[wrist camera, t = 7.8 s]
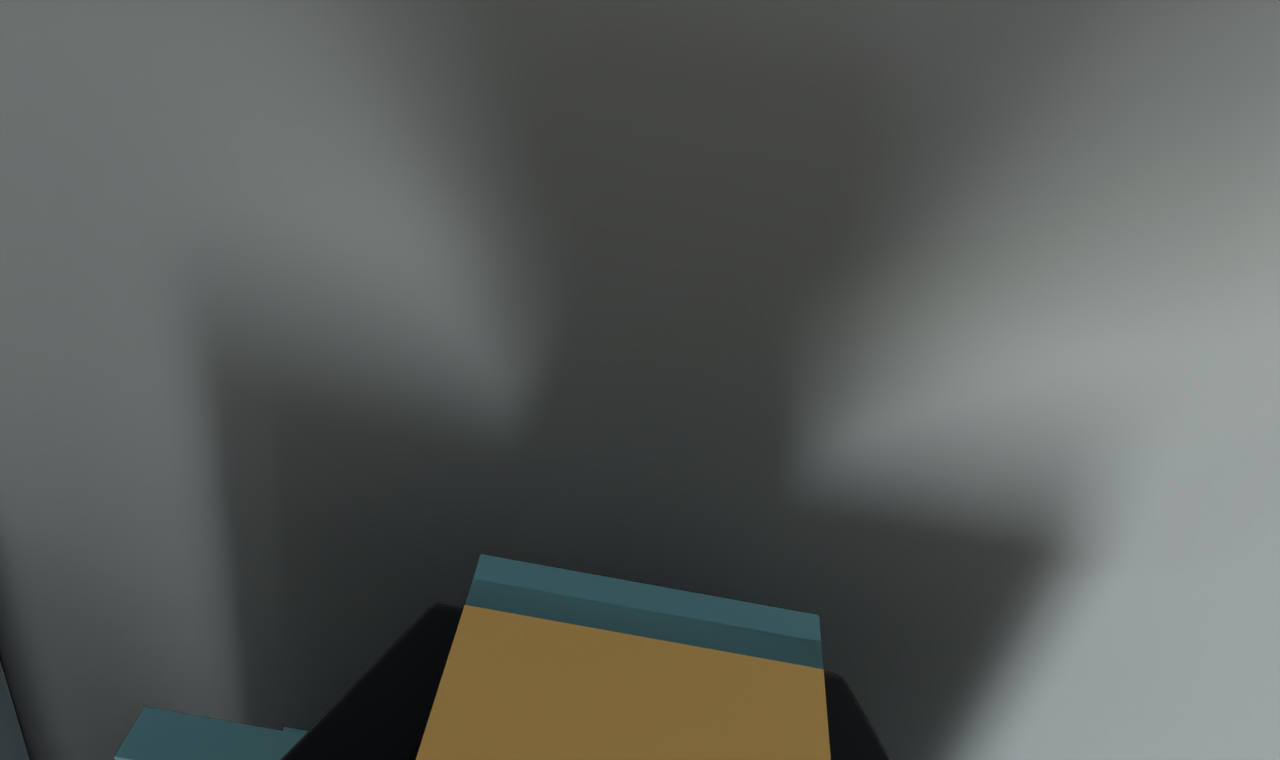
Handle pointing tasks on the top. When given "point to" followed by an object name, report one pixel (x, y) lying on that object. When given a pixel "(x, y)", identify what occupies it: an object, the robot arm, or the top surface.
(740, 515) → the top surface
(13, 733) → the tub
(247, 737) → the lid
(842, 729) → the robot arm
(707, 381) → the top surface
